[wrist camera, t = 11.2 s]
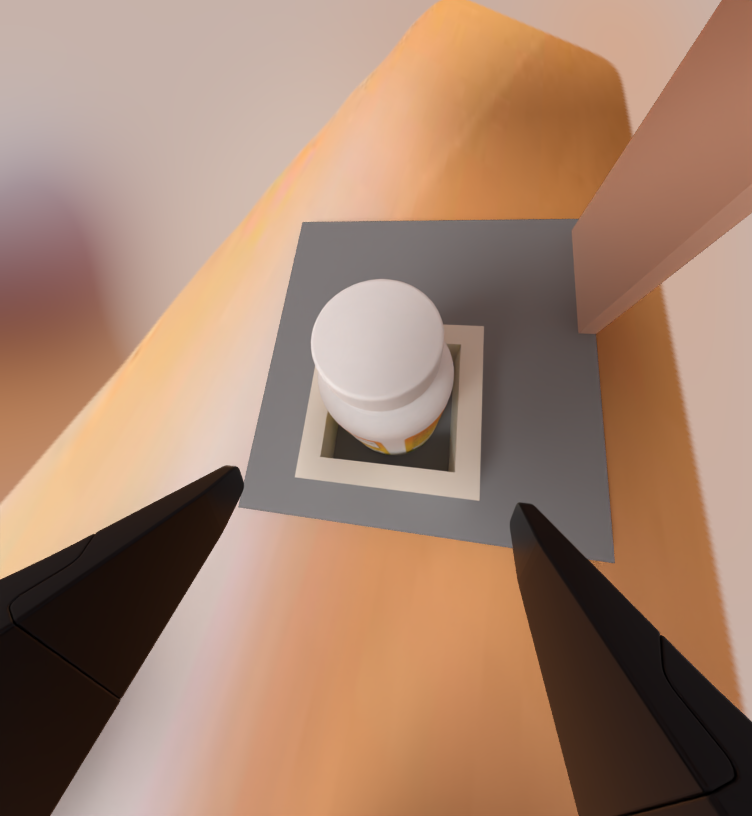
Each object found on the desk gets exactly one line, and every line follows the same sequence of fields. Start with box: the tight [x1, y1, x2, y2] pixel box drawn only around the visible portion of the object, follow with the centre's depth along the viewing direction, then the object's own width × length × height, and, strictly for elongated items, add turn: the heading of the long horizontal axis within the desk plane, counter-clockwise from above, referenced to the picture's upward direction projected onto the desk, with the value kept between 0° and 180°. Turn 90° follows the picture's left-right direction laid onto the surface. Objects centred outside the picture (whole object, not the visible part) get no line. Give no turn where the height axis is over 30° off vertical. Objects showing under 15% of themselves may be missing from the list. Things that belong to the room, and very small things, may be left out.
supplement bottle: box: [311, 279, 454, 455], centre depth 13 cm, size 5×5×10 cm
